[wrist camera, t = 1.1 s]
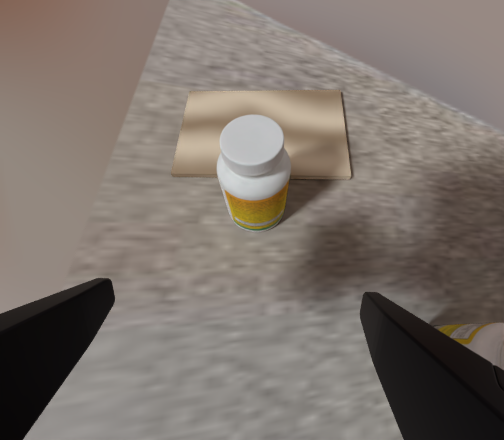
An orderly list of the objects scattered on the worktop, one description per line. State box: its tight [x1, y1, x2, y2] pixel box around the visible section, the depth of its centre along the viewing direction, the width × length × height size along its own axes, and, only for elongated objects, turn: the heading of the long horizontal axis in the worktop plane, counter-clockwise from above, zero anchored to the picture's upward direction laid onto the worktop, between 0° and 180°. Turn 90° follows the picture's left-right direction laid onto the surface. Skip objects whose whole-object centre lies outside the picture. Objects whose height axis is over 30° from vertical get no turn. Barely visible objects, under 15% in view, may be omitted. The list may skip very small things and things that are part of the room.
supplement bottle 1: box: [217, 114, 291, 232], centre depth 19 cm, size 5×5×10 cm
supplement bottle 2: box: [433, 323, 504, 370], centre depth 14 cm, size 5×5×8 cm
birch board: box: [171, 90, 351, 180], centre depth 27 cm, size 12×18×1 cm, turn 87°
